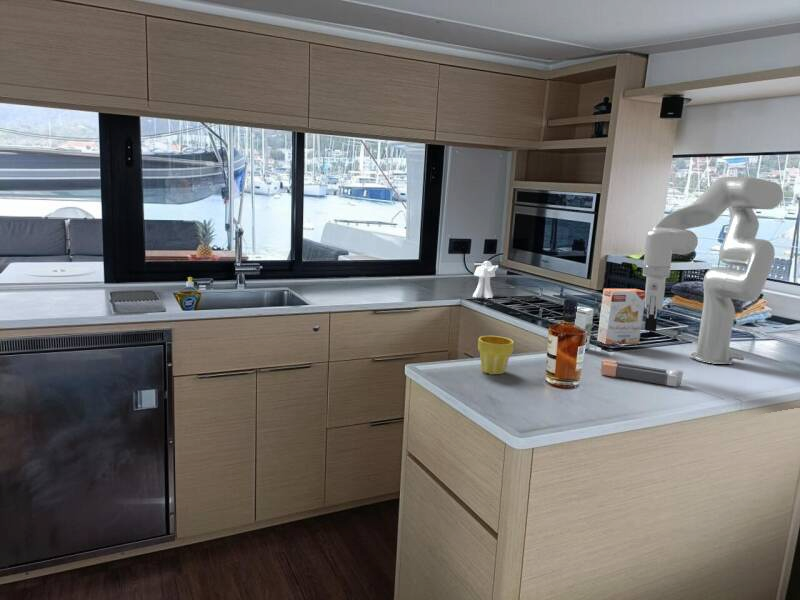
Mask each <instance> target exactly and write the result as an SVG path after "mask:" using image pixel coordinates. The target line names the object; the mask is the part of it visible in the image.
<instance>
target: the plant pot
mask: <svg viewBox="0 0 800 600" xmlns="http://www.w3.org/2000/svg"><path fill="white" fill-rule="evenodd" d="M477 342H478V343H477V349H478V351H479V355H480V356H479V357H480V365H481V366H480V367H481V371H482V372H483V373H485V374H487V373H489V374H488V375H492V374H501V375H503V374H504V373H505V371H506V368H507V365H508V362H509V359H510V355H512V354H513V351H514V340H512V339H511V338H509V337H504V336H499V335H481V336H479V337H478V341H477ZM502 373H503V374H502Z"/></svg>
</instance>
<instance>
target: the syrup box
mask: <svg viewBox="0 0 800 600" xmlns="http://www.w3.org/2000/svg"><path fill="white" fill-rule="evenodd" d="M594 312H595V311H594V309H593V308H590V307H586V306H577V312H576V319H575V325H576V326H578V327H580V328H582V329H585V330H586V331H587V342H586V349H587V350H589V349H590V341H591V334H592V325H593V319H594V318H593V317H594ZM588 348H589V349H588Z"/></svg>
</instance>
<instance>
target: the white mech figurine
mask: <svg viewBox="0 0 800 600" xmlns="http://www.w3.org/2000/svg"><path fill="white" fill-rule="evenodd" d="M478 265H479V266H478ZM473 266H476V268H475V270H474V273H473V276H475V277H478V283H477V287H476V288H475V290H474V292H473V294H472V298H474V297H475V299H476V298H477V297H479V298H484V297H485V298H484V299H488V298H492V299H493V297H494V293H493V290H492V287H491V278H495V277H496V273H495V272H496V271H497V269H498V268H500V267H499V265H498V264H496V265H493V264H492V262H491V261H490V260H485V261H483V263H482V262H479V263H478V262H477V263H476V262H474V263H473ZM477 299H478V298H477Z"/></svg>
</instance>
